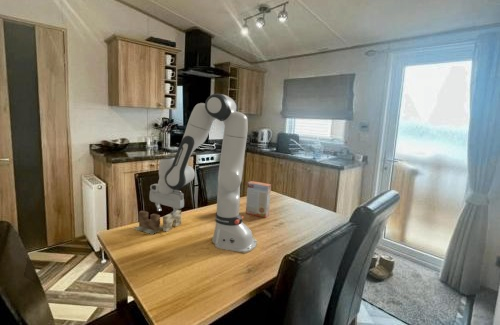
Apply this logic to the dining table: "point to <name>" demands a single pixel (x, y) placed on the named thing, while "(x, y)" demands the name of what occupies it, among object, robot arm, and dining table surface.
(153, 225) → the walnut slotted plate
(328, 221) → the dining table surface
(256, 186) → the cracker box
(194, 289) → the dining table surface
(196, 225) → the dining table surface
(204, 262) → the dining table surface
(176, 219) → the maple slotted plate
